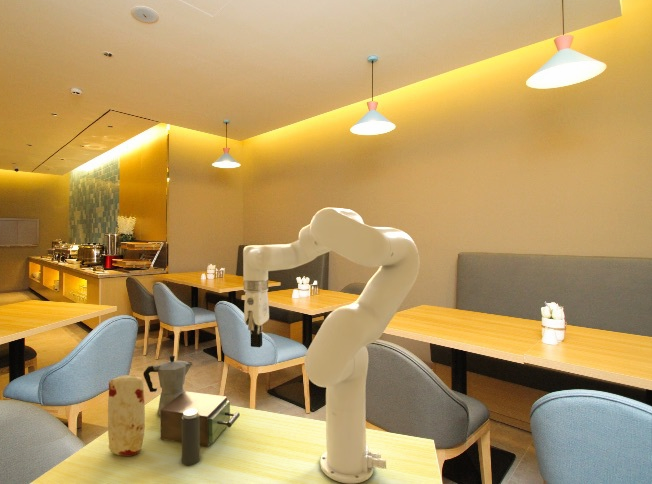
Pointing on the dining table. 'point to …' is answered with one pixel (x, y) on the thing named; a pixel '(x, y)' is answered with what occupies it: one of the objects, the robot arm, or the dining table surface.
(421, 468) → the dining table surface
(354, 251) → the robot arm
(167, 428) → the cabinet
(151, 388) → the coffeepot
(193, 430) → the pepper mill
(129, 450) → the food model
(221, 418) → the drawer
